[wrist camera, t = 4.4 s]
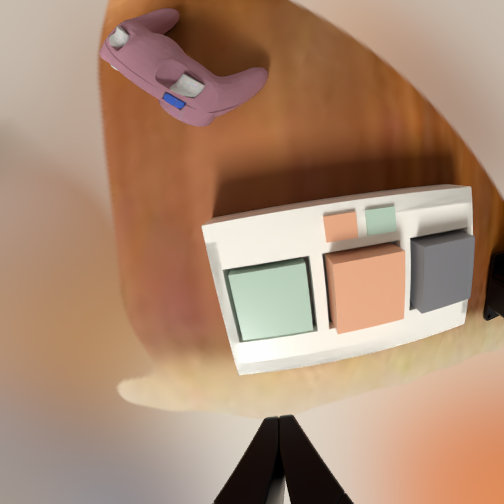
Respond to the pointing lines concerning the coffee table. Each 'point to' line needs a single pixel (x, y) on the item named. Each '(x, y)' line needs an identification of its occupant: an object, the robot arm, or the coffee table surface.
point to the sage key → (272, 298)
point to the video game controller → (176, 70)
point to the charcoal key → (441, 269)
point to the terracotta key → (366, 286)
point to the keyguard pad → (313, 252)
